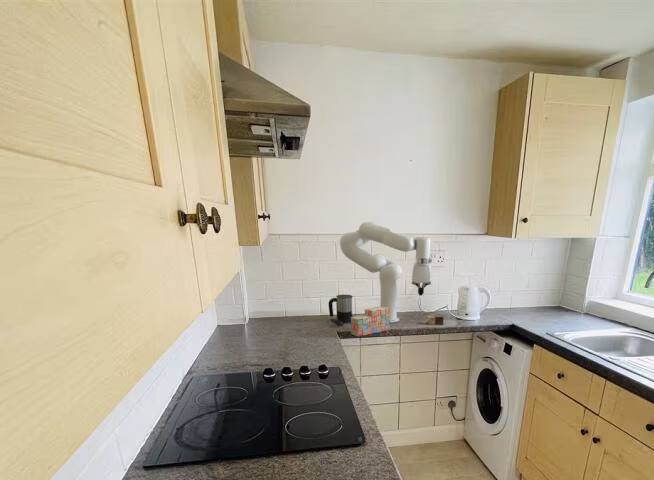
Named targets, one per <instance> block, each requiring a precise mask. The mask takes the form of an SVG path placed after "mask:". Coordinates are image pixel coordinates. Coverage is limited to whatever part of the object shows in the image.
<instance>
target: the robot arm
mask: <svg viewBox="0 0 654 480" xmlns="http://www.w3.org/2000/svg"><path fill="white" fill-rule="evenodd" d="M358 227H359V228H358V229H357V230H356V231H351V232H346V233H344V234H343V235H342V236H341V237H340V240H339V247H340V250H341V252H342V254H343V255H344V256H345V257H346V258H347V259H349V260H350V261H352V262H353V263H355V264H357V265H358V266H360V267H361V268H363V269H365V270H366V271H368V272H369V273H374V274H375V273H378V272H379V275H378V276H379V277H378V279H379V287H380V290H379V292H380V293H379V294H380V306H379V307H381V306H384V307H388V308H390V324H392V323H393V324H394V323H397V322H400V317H398V315H397V313H398V285H397V280H399V279H400V278H401V277H402V275H403V270H402V267H401V265H400V264H398V263H397V262H395V261H394V260H392V259H390V258H389V257H386V256H385V255H382V254H380V253H379V254H378V253H377V254H371V253H370V252H368V251H366V250H364V249H363V248H360V247H361V246H363V245H365V244H366V243H368V242H370V241H373V242H376V243H380V244H382V245H385V246H386V247H389V248H391V249H393V250H397V251H399V252H406V253H409V252H412V251H415V261H414V263H413V265H412V266H413V267H412V272H411V273H412V276H411V285H412V286H416V287H417V295H419V296H420V297H421V296H423V295H424V292H425V288H426V287H427V286H430V285H432V266H431V263H432V262H433V259H432V258H431V242H432V241H431V237H429V236H415V235H407V236H405V235H401V234H398V233H396V232H393V231H391V229H390V228H389V227H385V226H382V225H378V224H377V223H376V222H375V221H363V222H362V223H361V224H360V225H359V226H358Z"/></svg>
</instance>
